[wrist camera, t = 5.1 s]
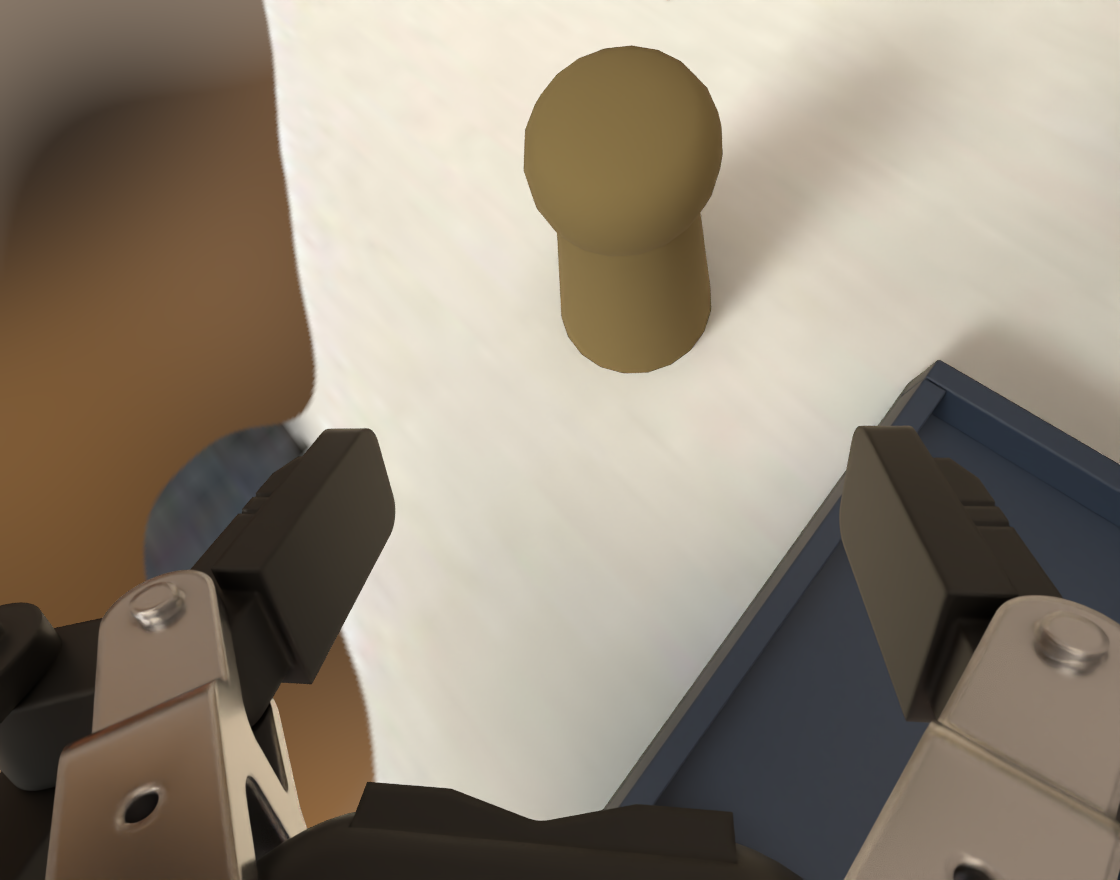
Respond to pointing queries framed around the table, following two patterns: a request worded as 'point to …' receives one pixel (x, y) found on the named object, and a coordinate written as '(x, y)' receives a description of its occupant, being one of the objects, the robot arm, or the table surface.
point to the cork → (627, 202)
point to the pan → (864, 643)
